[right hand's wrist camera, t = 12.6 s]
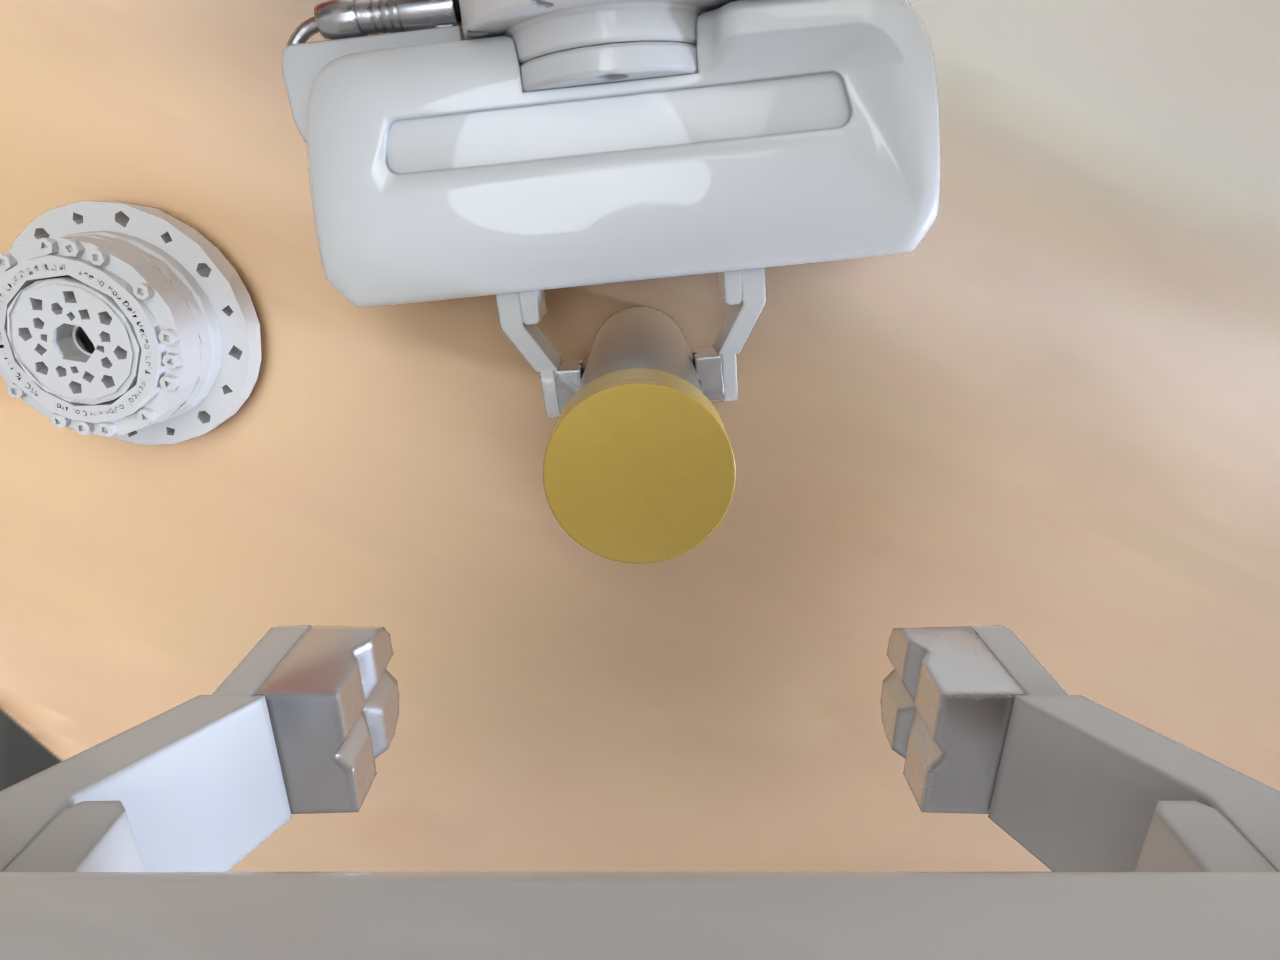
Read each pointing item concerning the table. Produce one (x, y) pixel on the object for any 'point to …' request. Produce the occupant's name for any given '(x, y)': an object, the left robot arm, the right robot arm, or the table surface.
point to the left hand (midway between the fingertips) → (643, 405)
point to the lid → (639, 466)
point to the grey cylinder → (640, 346)
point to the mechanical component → (125, 324)
